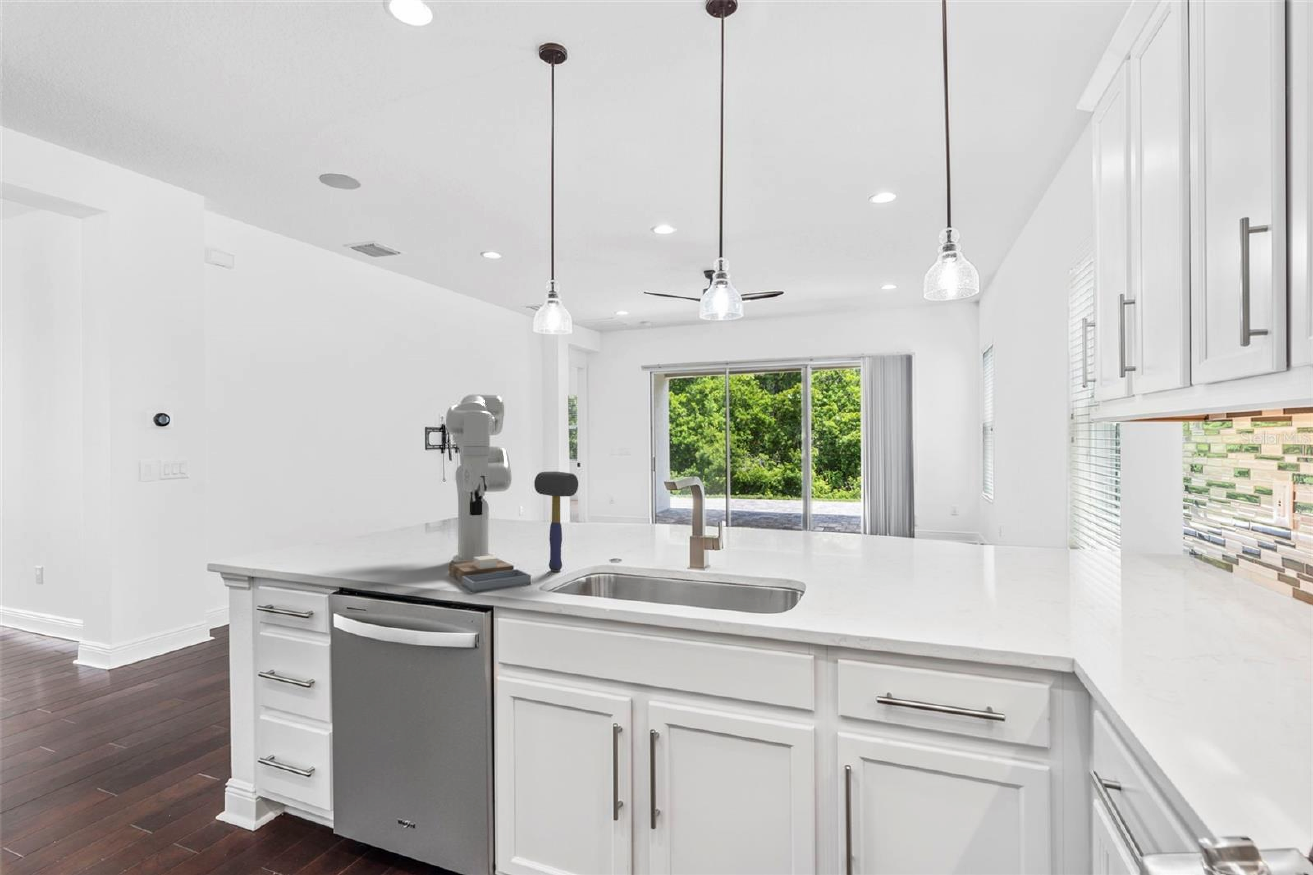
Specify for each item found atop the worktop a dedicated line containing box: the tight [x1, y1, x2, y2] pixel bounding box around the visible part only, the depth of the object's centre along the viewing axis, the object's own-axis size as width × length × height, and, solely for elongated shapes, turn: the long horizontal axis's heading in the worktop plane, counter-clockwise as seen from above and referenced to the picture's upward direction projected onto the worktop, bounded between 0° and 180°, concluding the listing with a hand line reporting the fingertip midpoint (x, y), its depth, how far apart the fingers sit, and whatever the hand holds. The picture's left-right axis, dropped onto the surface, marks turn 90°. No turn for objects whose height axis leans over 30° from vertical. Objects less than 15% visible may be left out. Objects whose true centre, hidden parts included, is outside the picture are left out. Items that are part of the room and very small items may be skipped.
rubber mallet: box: [533, 471, 579, 573], centre depth 186 cm, size 12×8×30 cm, turn 60°
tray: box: [461, 568, 532, 593], centre depth 168 cm, size 9×16×2 cm, turn 126°
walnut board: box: [448, 558, 515, 584], centre depth 178 cm, size 14×14×4 cm
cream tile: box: [474, 555, 498, 569], centre depth 175 cm, size 5×5×2 cm
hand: (475, 514), depth 181 cm, fingers closed
